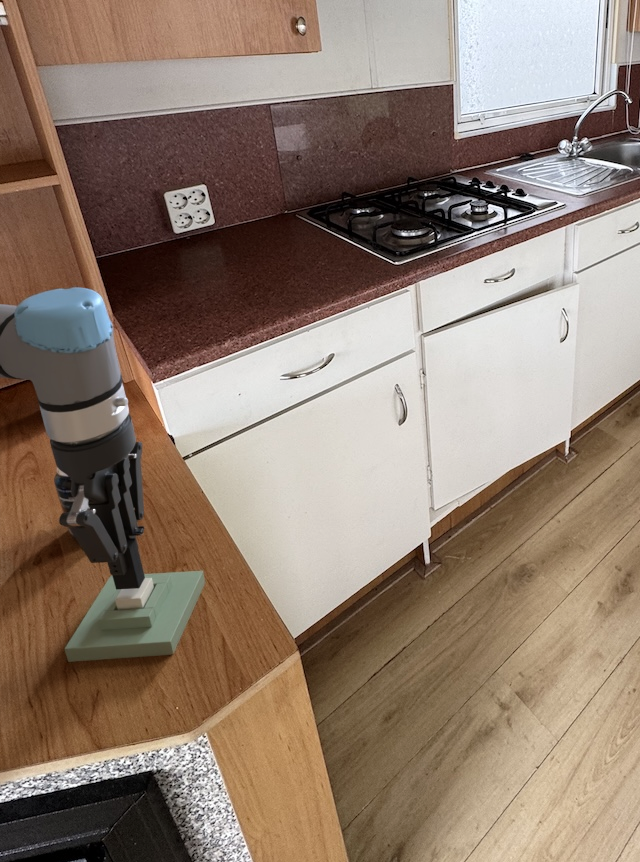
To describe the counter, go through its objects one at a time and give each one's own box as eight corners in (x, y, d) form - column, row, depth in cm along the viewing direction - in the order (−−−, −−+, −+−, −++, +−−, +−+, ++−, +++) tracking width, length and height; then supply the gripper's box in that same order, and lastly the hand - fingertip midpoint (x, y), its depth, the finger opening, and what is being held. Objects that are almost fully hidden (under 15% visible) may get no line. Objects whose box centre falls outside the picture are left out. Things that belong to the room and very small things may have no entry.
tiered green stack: (68, 662, 69) (60, 638, 67) (113, 587, 78) (107, 565, 77) (173, 654, 70) (167, 631, 68) (205, 582, 79) (201, 560, 78)
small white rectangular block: (117, 610, 71) (114, 600, 71) (130, 589, 74) (127, 578, 73) (143, 609, 71) (140, 598, 71) (154, 587, 74) (151, 577, 74)
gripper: (93, 464, 58) (136, 631, 66) (154, 390, 70) (184, 539, 78) (13, 466, 57) (66, 636, 65) (89, 392, 70) (126, 542, 78)
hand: (130, 583), depth 72 cm, fingers closed
